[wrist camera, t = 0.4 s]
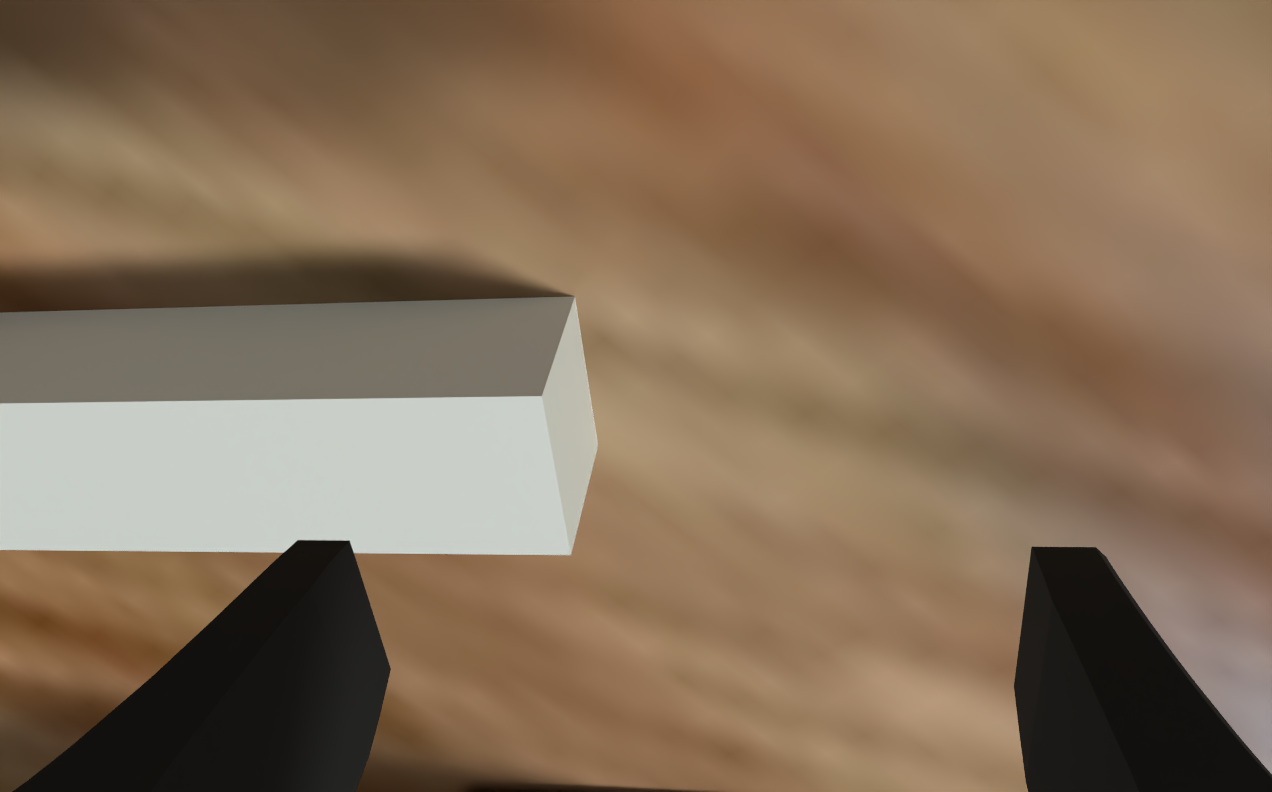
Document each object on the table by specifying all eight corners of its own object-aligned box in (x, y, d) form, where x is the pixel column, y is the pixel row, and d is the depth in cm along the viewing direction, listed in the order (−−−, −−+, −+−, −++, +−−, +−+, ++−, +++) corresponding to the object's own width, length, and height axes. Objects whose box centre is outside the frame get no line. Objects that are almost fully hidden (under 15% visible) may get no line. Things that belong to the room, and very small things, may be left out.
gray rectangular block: (599, 437, 24) (570, 554, 21) (68, 441, 26) (-25, 549, 23) (577, 288, 22) (542, 396, 19) (3, 305, 24) (-108, 404, 21)
